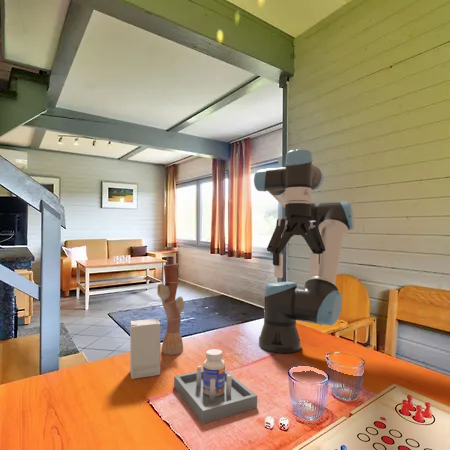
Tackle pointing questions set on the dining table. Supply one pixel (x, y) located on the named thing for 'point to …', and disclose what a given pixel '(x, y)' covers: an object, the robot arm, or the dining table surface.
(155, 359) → the skincare box
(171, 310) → the wooden tree sculpture
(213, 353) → the pill bottle
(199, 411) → the tray
